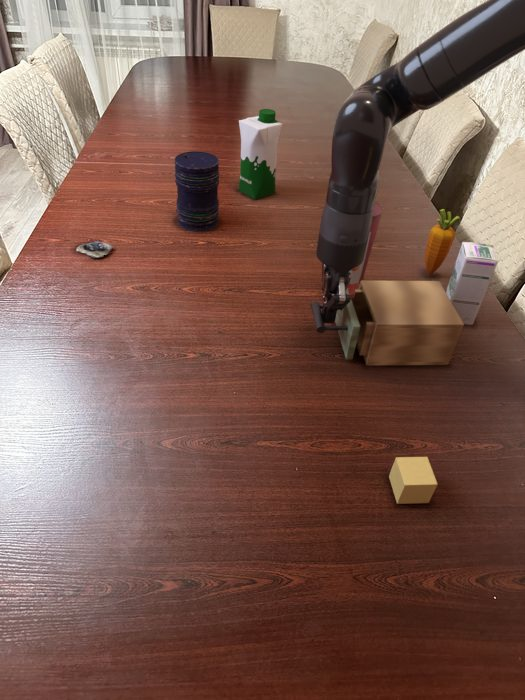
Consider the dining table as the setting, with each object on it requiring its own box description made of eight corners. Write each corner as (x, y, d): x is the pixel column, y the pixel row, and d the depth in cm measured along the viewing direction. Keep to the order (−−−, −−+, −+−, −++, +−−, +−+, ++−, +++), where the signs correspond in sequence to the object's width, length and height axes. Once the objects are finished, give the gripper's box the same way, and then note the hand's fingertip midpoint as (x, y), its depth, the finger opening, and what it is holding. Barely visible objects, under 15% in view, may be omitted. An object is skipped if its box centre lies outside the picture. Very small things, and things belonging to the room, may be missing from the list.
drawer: (315, 359, 89) (320, 326, 84) (306, 318, 97) (310, 285, 92) (422, 359, 90) (433, 326, 86) (404, 318, 99) (413, 286, 94)
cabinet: (366, 365, 90) (377, 324, 84) (351, 320, 99) (360, 280, 93) (447, 365, 91) (464, 324, 85) (425, 320, 100) (439, 280, 94)
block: (418, 475, 73) (427, 456, 70) (428, 503, 70) (438, 484, 67) (388, 476, 73) (395, 457, 70) (396, 504, 69) (404, 485, 67)
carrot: (445, 278, 112) (468, 214, 102) (428, 283, 110) (449, 218, 100) (429, 266, 115) (449, 203, 105) (412, 272, 113) (431, 208, 103)
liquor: (368, 291, 106) (401, 155, 88) (352, 308, 102) (383, 168, 83) (337, 279, 109) (362, 144, 91) (320, 294, 105) (342, 156, 86)
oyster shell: (104, 262, 109) (103, 254, 108) (68, 256, 110) (67, 248, 108) (117, 246, 114) (116, 238, 113) (83, 240, 115) (82, 232, 113)
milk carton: (280, 193, 138) (287, 115, 125) (254, 202, 134) (258, 121, 120) (258, 182, 143) (262, 105, 130) (232, 190, 138) (234, 110, 125)
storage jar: (226, 218, 126) (227, 157, 116) (206, 235, 119) (205, 172, 110) (190, 208, 129) (188, 147, 119) (169, 224, 122) (165, 162, 112)
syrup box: (473, 326, 100) (501, 260, 90) (442, 321, 100) (466, 256, 91) (469, 308, 104) (495, 244, 95) (439, 304, 105) (462, 240, 95)
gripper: (378, 254, 75) (356, 345, 86) (359, 211, 84) (341, 298, 96) (327, 253, 74) (311, 345, 85) (313, 210, 84) (301, 297, 95)
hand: (327, 320), depth 91 cm, fingers closed
